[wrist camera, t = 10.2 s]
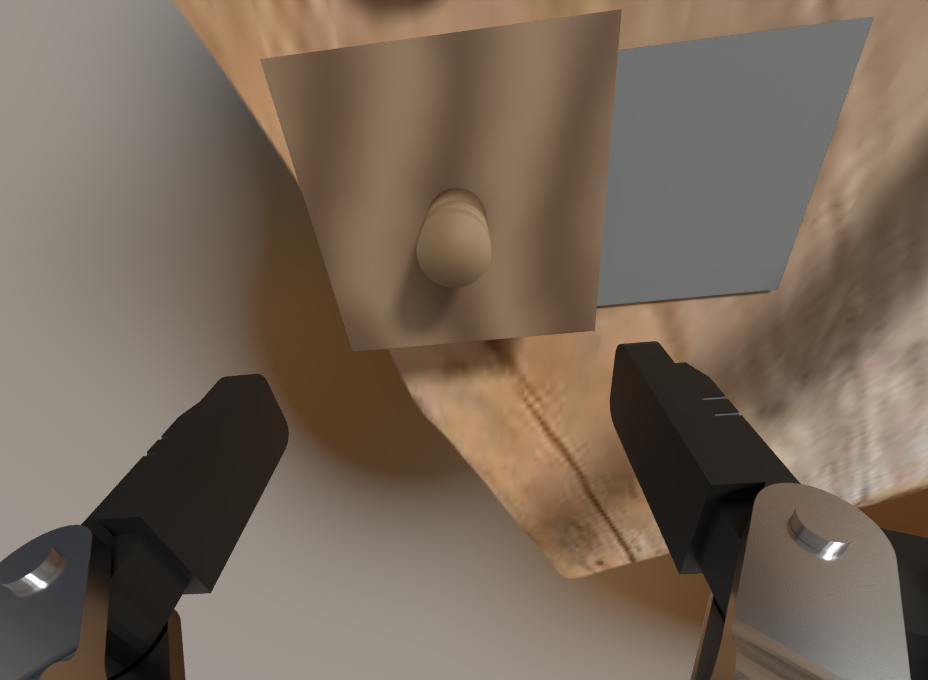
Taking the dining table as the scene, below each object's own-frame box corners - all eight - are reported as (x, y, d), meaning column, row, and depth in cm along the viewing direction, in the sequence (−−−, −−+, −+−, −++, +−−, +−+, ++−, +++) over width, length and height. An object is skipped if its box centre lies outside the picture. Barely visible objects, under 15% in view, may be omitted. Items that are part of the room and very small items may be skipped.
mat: (866, 18, 24) (874, 16, 23) (773, 286, 33) (777, 289, 33) (569, 57, 25) (571, 56, 24) (561, 306, 34) (563, 309, 34)
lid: (612, 14, 17) (682, -25, 12) (589, 321, 26) (624, 384, 20) (271, 61, 18) (185, 45, 13) (356, 342, 27) (327, 407, 21)
